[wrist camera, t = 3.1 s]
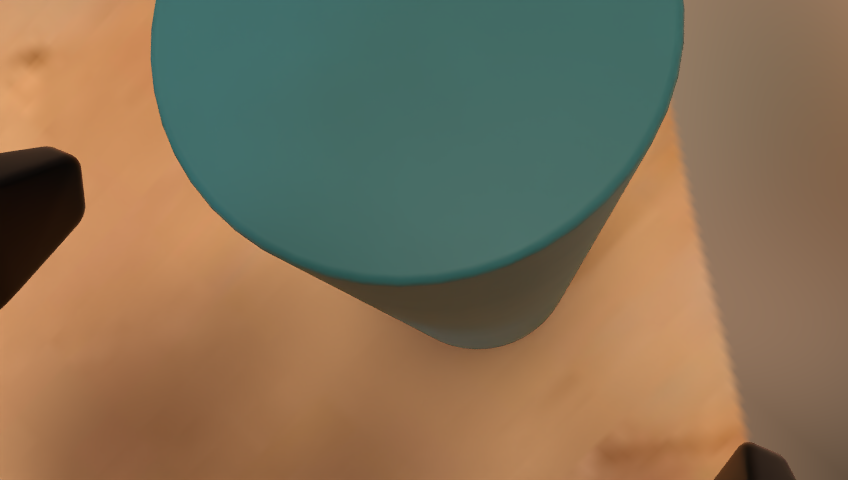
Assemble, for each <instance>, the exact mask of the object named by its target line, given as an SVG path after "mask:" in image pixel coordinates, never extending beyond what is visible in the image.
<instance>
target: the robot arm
mask: <svg viewBox="0 0 848 480" xmlns="http://www.w3.org/2000/svg"><path fill="white" fill-rule="evenodd" d="M84 211H85V198H84V189H83V181H82V172H81V166H80V163H79V161H78V160H77V158H75V157H74V156H72V155H70V154H68V153H65V152H63V151H61V150H58V149H56V148H53V147H47V146H46V147H38V148H31V149H25V150H18V151H11V152H5V153H0V309H1V308H3V307H4V306H5V305H6V304H7V303H8V302H9V301H10V299H11V298H12V297H13V296H14V295H15V294H16V293H17V292H18V291H19V290H20V289H21V288H22V287H23V285H24V284H25V283H26V282H27V281H28V280H29V279H30V278H31V277H32V275H33V274H34V273H35V272H36V271H37V270H38V269H39V268H40V266H41V265H42V264H43V263H44V262H45V261H46V260H47V259H48V257H49V256H50V255H51V254H52V253H53V252H54V251H55V250H56V249H57V247H58V246H59V245H60V244H61V243H62V242H63V241H64V240H65V238H66V237H67V236H68V235H69V234H70V233H71V232H72V231H73V229H74V228H75V227H76V226H77V225H78V224H79V222H80V221H81V219H82V217H83V215H84ZM714 480H796V479H795V477H794V475H793V473H792V471H791V469H790V467H789V465H788V463H787V462H786V460H785V459H784V458H783V457H782V456H781V455H779V454H777V453H775V452H773V451H771V450H768V449H766V448H764V447H761V446H759V445H756V444H754V443H751V442H746V443H743V444H742V445H740V446H739V447H738V448H737V450H736V451H735V452H734V454H733V455H732V456H731V458H730V459H729V460H728V462H727V463H726V464H725V466H724V467H723V468H722V470H721V471H720V472H719V474H718V475H717V476H716V477H715V479H714Z"/></svg>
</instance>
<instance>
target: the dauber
mask: <svg viewBox="0 0 848 480" xmlns="http://www.w3.org/2000/svg"><path fill="white" fill-rule="evenodd" d="M683 43H684V2H683V0H156V3H155V10H154V16H153V22H152V30H151V67H152V76H153V85H154V93H155V97H156V101H157V105H158V109H159V113H160V117H161V121H162V125H163V127H164V130H165V132H166V135H167V137H168V140H169V142H170V144H171V147H172V149H173V152H174V154H175V156H176V158H177V159H178V161H179V163H180V164H181V166H182V168H183V170H184V171H185V173H186V175H187V176H188V178H189V180H190V182H191V183H192V184H193V185H194V187H195V188H196V189H197V191H198V192H199V193H200V194H201V196H202V197H203V198H204V199H205V201H206V202H207V203H208V204H209V206H210V207H211V208H212V209H213V210H214V211H215V212H216V213H217V214H218V215H219V216H221V217H222V218H223V219H224V220H225V221H226V222H227V223H228V224H229V225H230V226H231V227H232V228H233V229H234V230H235V231H237V232H238V233H240V234H241V235H242V236H244V237H245V238H247V239H248V240H250V241H251V242H252V243H254V244H255V245H257V246H258V247H259V248H261V249H262V250H264V251H266V252H268V253H270V254H272V255H274V256H276V257H278V258H279V259H281V260H283V261H285V262H287V263H289V264H291V265H293V266H295V267H297V268H299V269H301V270H303V271H305V272H307V273H309V274H311V275H312V276H314V277H316V278H318V279H320V280H322V281H324V282H326V283H328V284H330V285H332V286H334V287H336V288H338V289H340V290H342V291H344V292H346V293H347V294H349V295H351V296H353V297H355V298H357V299H359V300H361V301H363V302H365V303H367V304H369V305H371V306H373V307H375V308H377V309H379V310H381V311H382V312H384V313H386V314H388V315H390V316H392V317H394V318H396V319H398V320H400V321H402V322H404V323H406V324H408V325H410V326H412V327H414V328H415V329H417V330H419V331H421V332H423V333H425V334H427V335H429V336H431V337H433V338H435V339H437V340H439V341H441V342H444V343H446V344H449V345H452V346H457V347H461V348H469V349H488V348H494V347H499V346H503V345H506V344H509V343H512V342H515V341H517V340H519V339H521V338H523V337H525V336H526V335H528V334H529V333H531V332H532V331H534V330H535V329H536V328H537V327H539V326H540V325H541V324H542V323H543V322H544V321H545V320H546V319H547V318H548V317H549V315H550V314H551V313H552V312H553V310H554V309H555V307H556V306H557V304H558V303H559V301H560V299H561V298H562V296H563V294H564V293H565V291H566V289H567V287H568V286H569V284H570V282H571V281H572V279H573V277H574V276H575V274H576V272H577V270H578V269H579V267H580V265H581V264H582V262H583V260H584V258H585V257H586V255H587V253H588V252H589V250H590V248H591V246H592V245H593V243H594V241H595V240H596V238H597V236H598V234H599V233H600V231H601V229H602V228H603V226H604V224H605V222H606V221H607V219H608V217H609V216H610V214H611V212H612V211H613V209H614V207H615V205H616V204H617V202H618V200H619V199H620V197H621V195H622V193H623V192H624V190H625V188H626V187H627V185H628V183H629V181H630V180H631V178H632V176H633V175H634V173H635V171H636V169H637V168H638V166H639V164H640V163H641V161H642V159H643V157H644V156H645V154H646V152H647V151H648V149H649V147H650V146H651V144H652V142H653V140H654V138H655V135H656V133H657V131H658V129H659V127H660V125H661V123H662V121H663V119H664V117H665V115H666V113H667V110H668V107H669V104H670V101H671V98H672V95H673V91H674V88H675V85H676V82H677V79H678V74H679V68H680V62H681V56H682V50H683Z"/></svg>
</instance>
